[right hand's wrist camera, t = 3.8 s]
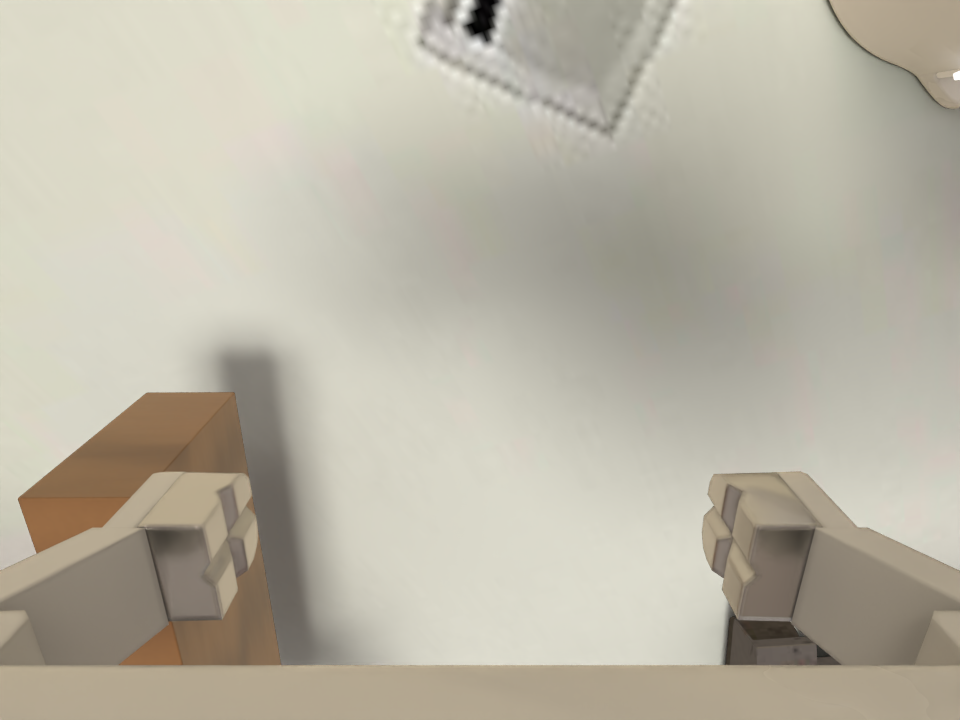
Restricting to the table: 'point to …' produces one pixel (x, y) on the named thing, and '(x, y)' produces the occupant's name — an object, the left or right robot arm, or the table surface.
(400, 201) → the table surface
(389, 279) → the table surface
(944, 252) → the table surface
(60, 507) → the bar
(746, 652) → the toy
